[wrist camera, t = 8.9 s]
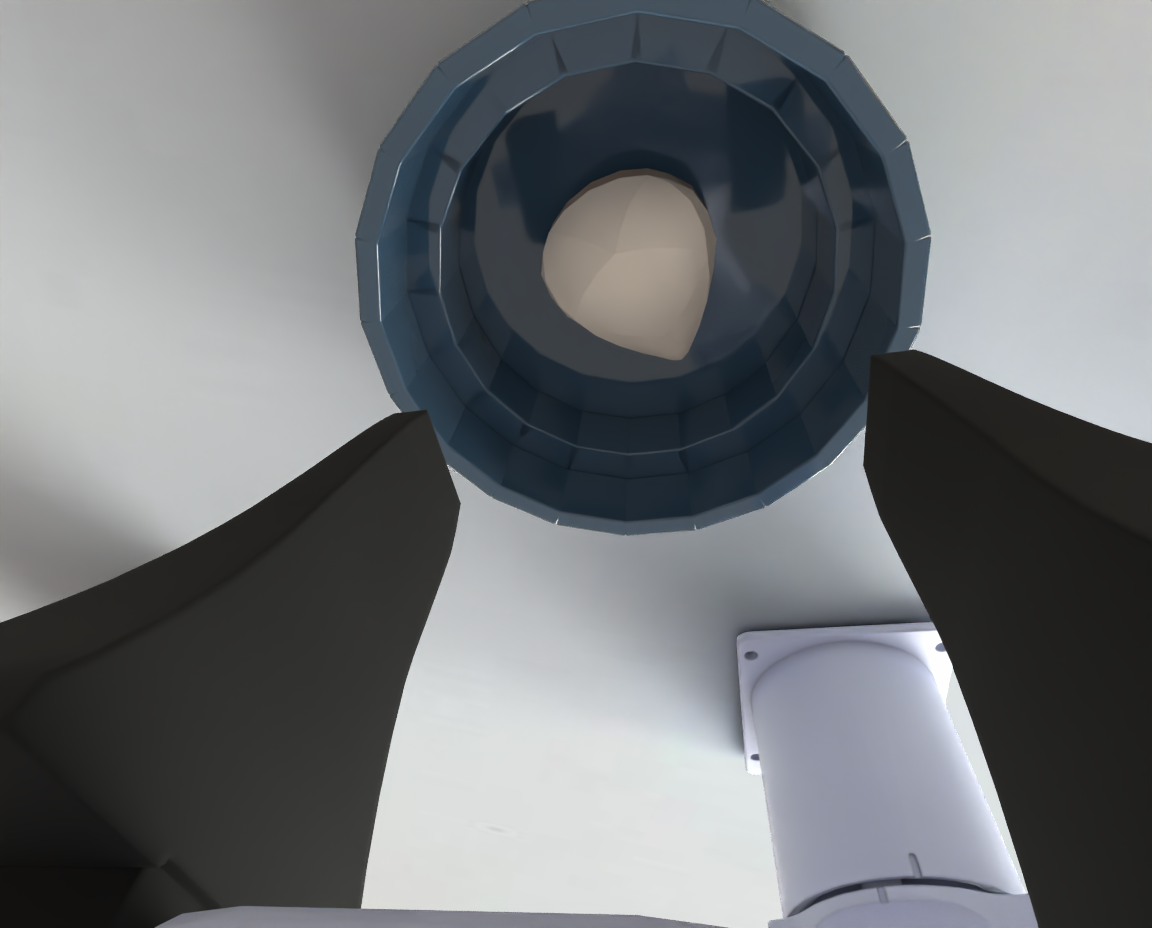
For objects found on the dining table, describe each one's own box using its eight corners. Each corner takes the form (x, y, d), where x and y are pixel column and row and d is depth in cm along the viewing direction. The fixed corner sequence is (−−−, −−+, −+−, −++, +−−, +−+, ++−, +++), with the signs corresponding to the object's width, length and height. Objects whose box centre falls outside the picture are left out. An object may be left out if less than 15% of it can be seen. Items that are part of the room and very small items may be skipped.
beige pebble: (673, 127, 15) (676, 145, 13) (752, 305, 18) (765, 344, 16) (521, 218, 17) (504, 247, 15) (612, 371, 19) (608, 415, 17)
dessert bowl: (853, 421, 20) (900, 514, 16) (481, 461, 22) (448, 551, 19) (883, -73, 13) (972, -103, 10) (349, 50, 16) (258, 63, 12)
